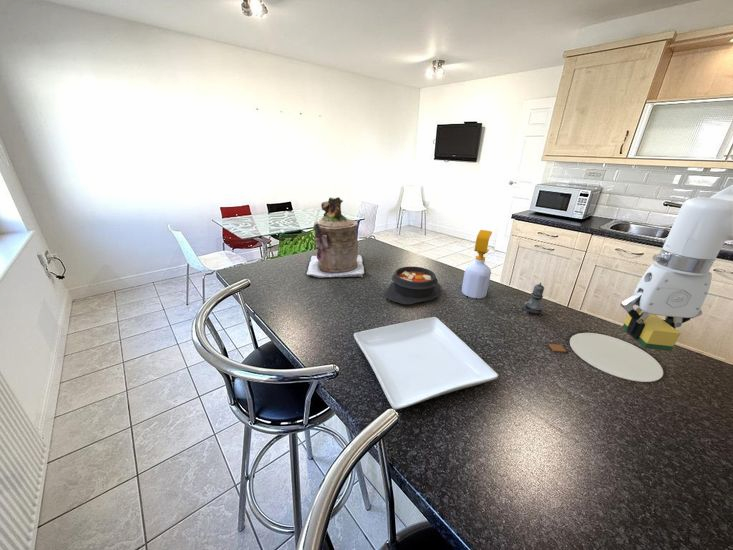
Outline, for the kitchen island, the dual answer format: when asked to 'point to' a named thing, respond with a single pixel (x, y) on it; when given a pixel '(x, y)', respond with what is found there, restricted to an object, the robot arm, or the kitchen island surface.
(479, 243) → the soap bottle
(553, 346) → the block
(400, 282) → the casserole
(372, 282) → the kitchen island surface
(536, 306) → the grey chess piece
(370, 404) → the kitchen island surface
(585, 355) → the plate
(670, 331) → the sponge
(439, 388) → the square plate
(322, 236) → the cookie jar
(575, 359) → the kitchen island surface
